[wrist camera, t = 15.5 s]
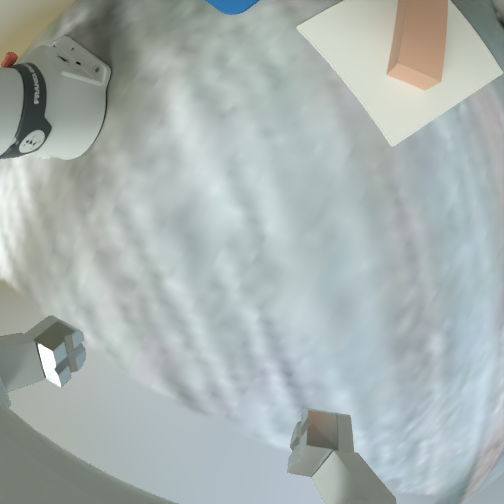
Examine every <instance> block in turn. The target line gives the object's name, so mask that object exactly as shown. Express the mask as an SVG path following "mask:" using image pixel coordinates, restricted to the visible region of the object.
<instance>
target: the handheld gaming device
mask: <svg viewBox="0 0 504 504" xmlns="http://www.w3.org/2000/svg"><path fill="white" fill-rule="evenodd" d="M205 1H207V2H208V3H210V4H211V5H212V6H214V7H215V8H217V9H218V10H219V11H221V12H222V13H225V14H230V15H233V14H239V13H242V12H244V11H246V10H247V9H249V8H250V7H251V6H253V5H254V4H255V3H257V2H258V1H259V0H205Z"/></svg>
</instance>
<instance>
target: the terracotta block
mask: <svg viewBox="0 0 504 504" xmlns="http://www.w3.org/2000/svg"><path fill="white" fill-rule="evenodd" d="M447 16H448V0H398V6H397V14H396V21H395V28H394V34H393V41H392V47H391V52H390V58H389V63H388V69H387V74H386V75H387V76H390V77H393V78H395V79H398V80H400V81H403V82H405V83H408V84H410V85H413V86H415V87H417V88H420V89H422V90H424V91H425V90H427V89H429V88H431V87H433V86H435V85H436V84H438V83H440V82H441V79H442V72H443V64H444V55H445V45H446V33H447Z"/></svg>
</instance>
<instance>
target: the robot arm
mask: <svg viewBox="0 0 504 504" xmlns="http://www.w3.org/2000/svg"><path fill="white" fill-rule="evenodd" d="M17 59H18V56H17V55H16V54H14V53H12V52H8V53H7V54H6V56H5V59H4V60H3V62H2V63H1V67H0V159H6V158H14V157H20V156H39V158H41V159H48V158H51V157H55V158H60V159H64V160H70V159H74V158H76V157H78V156H80V155H82V154H83V153H84V152H85V151H86V150H87V149H88V148H89V147H90V146H91V145H92V143H93V142H94V140H95V139H96V137H97V135H98V133H99V131H100V128H101V125H102V122H103V119H104V114H105V106H106V88H107V85H108V82H109V79H110V75H111V69H110V67H109V66H108V65H106V64H105V63H104V62H102V61H101V60H100V59H98V58H97V57H96V56H94V55H93V54H92V53H90V52H89V51H88V50H86V49H85V48H84V47H82V46H81V45H79V44H78V43H77V42H75V41H74V40H73V39H71V38H70V37H67V36H63V37H61V38H59V39H58V40H56V41H55V42H54V43H53V44H52V45H51V46H47V45H41V46H39V47H37V48H35V49H34V50H33V51H32V52H31V53H30V54H29V55H28V56H27V57H26V58H25V59H24V61H23V62H22V63H21V64H17V65H13V64H14V63H15V62H16V60H17ZM98 70H99V71H98ZM83 341H84V336H83V332H81V331H80V330H78V329H76V328H75V327H73V326H71V325H69V324H67V323H66V322H64V321H62V320H60V319H58V318H56V317H55V316H48V317H47V318H45V319H44V320H43V321H41V322H40V323H39V324H37V325H36V326H34V327H33V328H32V329H30V330H29V331H28V332H26V333H25V334H23V333H16V334H10V335H4V336H0V504H178V503H175V502H173V501H170V500H167V499H165V498H162V497H159V496H156V495H154V494H152V493H149V492H146V491H144V490H142V489H140V488H137V487H135V486H133V485H131V484H128V483H126V482H124V481H122V480H120V479H118V478H116V477H114V476H112V475H110V474H107V473H106V472H104V471H102V470H100V469H98V468H96V467H95V466H93V465H91V464H89V463H87V462H86V461H84V460H82V459H80V458H79V457H77V456H75V455H74V454H72V453H70V452H69V451H67V450H66V449H64V448H62V447H61V446H59V445H58V444H56V443H55V442H53V441H52V440H50V439H49V438H47V437H46V436H45V435H43V434H42V433H40V432H39V431H38V430H36V429H35V428H33V427H32V426H31V425H30V424H28V423H27V422H26V421H24V420H23V419H22V418H20V417H19V416H18V415H17V414H16V413H14V412H13V411H12V410H11V409H9V407H10V406H11V400H10V398H9V396H8V394H7V393H8V392H11V391H14V390H16V389H19V388H22V387H25V386H28V385H31V384H33V383H36V382H39V381H42V380H44V379H45V378H46V379H48V380H49V381H51V382H53V383H54V384H56V385H58V386H59V387H63V386H64V385H65V384H66V383H67V382H68V381H69V380H70V379H71V373H72V372H75V371H78V370H79V369H80V368H81V367H82V365H83V363H84V361H85V357H86V351H85V348H84V346H83V344H82V342H83ZM290 448H291V449H292V451H293V452H292V453H291V455H290V456H289V462H288V470H287V473H291V474H297V475H302V476H309V477H311V479H312V481H313V483H314V485H315V486H316V488H317V490H318V492H319V494H320V496H321V498H322V500H323V501H324V503H325V504H396V498H395V497H394V496H393V495H392V493H391V492H390V491H389V490H388V489H387V487H386V486H385V485H384V484H383V483H382V481H381V480H380V479H379V478H378V477H377V475H376V474H375V473H374V472H373V471H372V469H371V468H370V467H369V466H368V464H367V463H366V462H365V461H364V460H363V458H362V457H361V456H360V455H359V453H355V452H354V445H353V434H352V424H351V417H350V415H346V414H339V413H333V412H327V411H321V410H316V409H310V408H306V409H305V410H304V412H303V414H302V419H301V421H300V422H298V423H297V425H296V427H295V429H294V431H293V434H292V438H291V444H290Z"/></svg>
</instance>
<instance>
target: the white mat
mask: <svg viewBox="0 0 504 504" xmlns="http://www.w3.org/2000/svg"><path fill="white" fill-rule="evenodd" d="M397 6H398V0H344V1H342V2H340V3H338V4H336V5H334V6H332V7H330V8H328V9H327V10H325V11H323V12H321V13H319V14H317V15H316V16H314V17H312V18H310V19H309V20H307V21H305V22H304V23H302V24H300V25H298V26H297V30H298V31H299V32H300V33H301V34H302V35H303V36H304V37H305V38H306V39H307V40H308V41H309V42H310V43H311V44H312V45H313V46H314V48H315V49H316V50H317V51H318V52H319V53H320V54H321V55H322V56H323V57H324V59H325V60H326V61H327V62H328V63H329V64H330V65H331V67H332V68H333V69H334V70H335V71H336V72H337V74H338V75H339V76H340V77H341V78H342V80H343V81H344V82H345V83H346V85H347V86H348V87H349V88H350V90H351V91H352V92H353V93H354V95H355V96H356V97H357V99H358V100H359V101H360V103H361V104H362V105H363V107H364V108H365V109H366V111H367V112H368V113H369V115H370V116H371V118H372V119H373V120H374V122H375V123H376V125H377V126H378V127H379V129H380V130H381V132H382V133H383V135H384V136H385V138H386V139H387V141H388V142H389V144H390V145H391V147H394V146H395V145H396V144H398V143H399V142H401V141H402V140H404V139H405V138H407V137H408V136H410V135H411V134H413V133H414V132H416V131H417V130H419V129H420V128H422V127H423V126H425V125H426V124H428V123H429V122H431V121H432V120H434V119H435V118H437V117H438V116H440V115H441V114H443V113H444V112H446V111H447V110H449V109H450V108H452V107H453V106H455V105H456V104H458V103H459V102H461V101H462V100H464V99H465V98H467V97H468V96H470V95H471V94H473V93H474V92H476V91H477V90H479V89H480V88H482V87H483V86H485V85H486V84H488V83H489V82H491V81H492V80H494V79H495V78H497V77H498V76H500V75H501V74H503V72H502V70H501V68H500V67H499V65H498V63H497V62H496V60H495V59H494V57H493V56H492V54H491V53H490V51H489V50H488V48H487V47H486V45H485V44H484V42H483V41H482V40H481V38H480V37H479V35H478V34H477V33H476V31H475V30H474V29H473V27H472V26H471V25H470V23H469V22H468V21H467V20H466V18H465V17H464V16H463V15H462V13H461V12H460V11H459V10H458V9H457V7H456V6H455V5H454V4H453V3H452V2H451V1H450V0H448V16H447V33H446V45H445V55H444V64H443V72H442V79H441V82H440V83H438V84H436V85H435V86H433V87H431V88H429V89H427V90H425V91H424V90H422V89H420V88H417V87H415V86H413V85H410V84H408V83H405V82H403V81H400V80H398V79H395V78H393V77H390V76H387V75H386V74H387V69H388V63H389V58H390V52H391V47H392V41H393V34H394V28H395V21H396V14H397Z"/></svg>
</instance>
